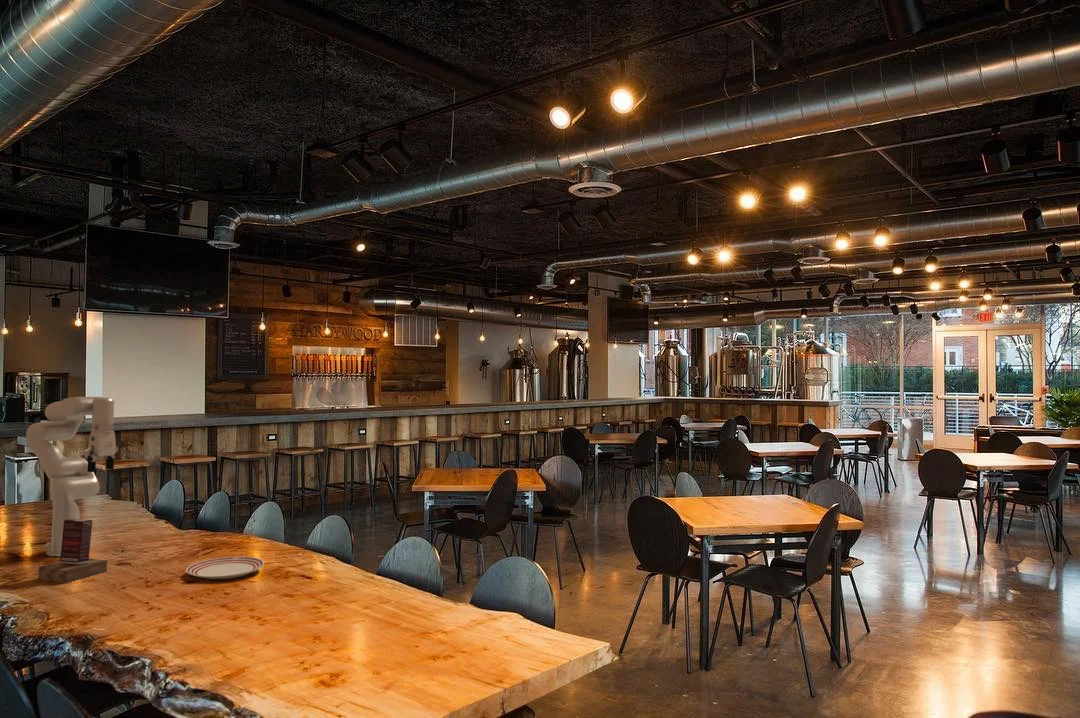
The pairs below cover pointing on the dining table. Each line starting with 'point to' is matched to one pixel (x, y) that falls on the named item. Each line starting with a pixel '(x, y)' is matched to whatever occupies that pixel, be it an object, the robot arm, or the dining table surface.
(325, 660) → the dining table surface
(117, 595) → the dining table surface
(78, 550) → the supplement box
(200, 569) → the dinner plate
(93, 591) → the dining table surface
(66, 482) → the robot arm
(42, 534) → the dining table surface
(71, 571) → the walnut block
